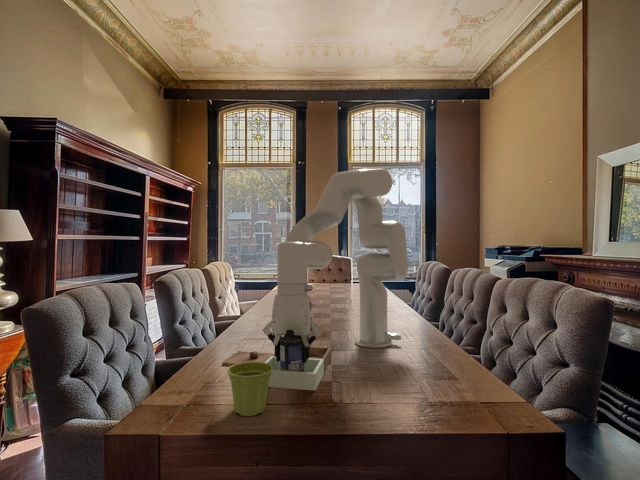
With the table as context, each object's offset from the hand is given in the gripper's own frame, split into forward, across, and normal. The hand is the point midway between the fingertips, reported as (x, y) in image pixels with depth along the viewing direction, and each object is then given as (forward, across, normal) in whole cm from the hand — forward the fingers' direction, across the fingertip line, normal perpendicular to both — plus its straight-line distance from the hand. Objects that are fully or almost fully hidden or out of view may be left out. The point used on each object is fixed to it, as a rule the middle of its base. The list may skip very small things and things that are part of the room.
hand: (292, 360), depth 95 cm
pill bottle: (+3, 0, 0) cm, 3 cm away
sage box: (+5, 0, 0) cm, 5 cm away
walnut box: (+5, 0, -13) cm, 14 cm away
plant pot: (+5, +4, +19) cm, 20 cm away
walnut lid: (+5, +15, -13) cm, 21 cm away
